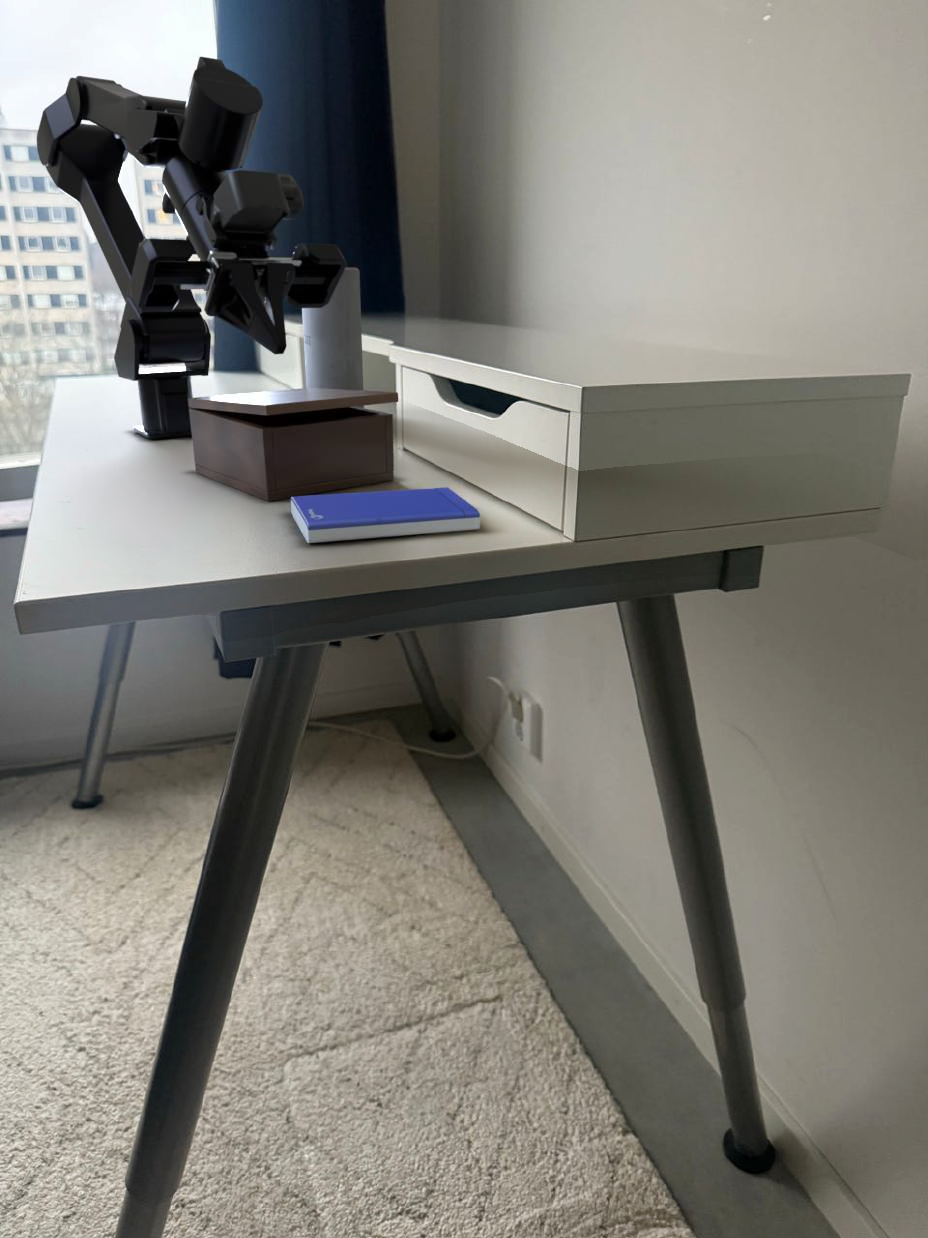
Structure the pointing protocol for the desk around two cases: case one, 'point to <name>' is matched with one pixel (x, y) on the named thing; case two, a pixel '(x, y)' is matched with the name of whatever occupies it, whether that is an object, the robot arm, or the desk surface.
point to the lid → (292, 400)
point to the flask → (335, 338)
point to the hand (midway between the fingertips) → (281, 350)
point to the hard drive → (382, 514)
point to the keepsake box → (293, 450)
